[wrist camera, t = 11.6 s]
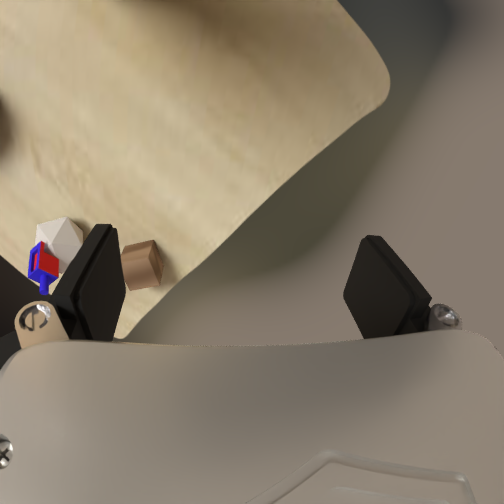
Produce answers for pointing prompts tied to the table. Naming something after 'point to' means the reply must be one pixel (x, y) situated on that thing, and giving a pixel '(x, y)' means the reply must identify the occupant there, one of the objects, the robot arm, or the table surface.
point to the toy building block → (43, 267)
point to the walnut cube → (141, 265)
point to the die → (60, 240)
